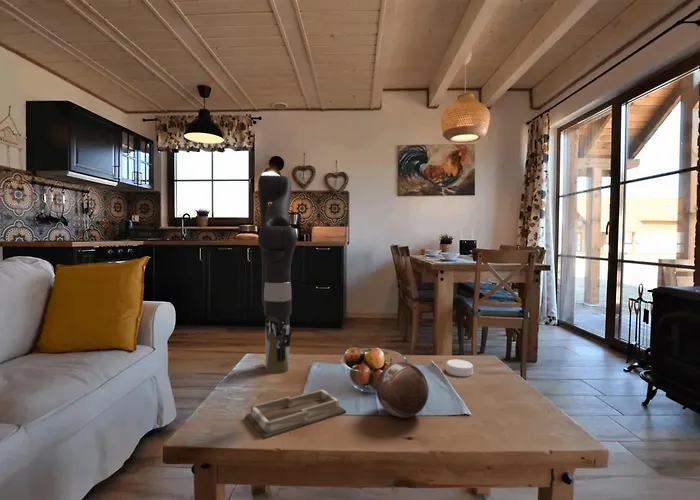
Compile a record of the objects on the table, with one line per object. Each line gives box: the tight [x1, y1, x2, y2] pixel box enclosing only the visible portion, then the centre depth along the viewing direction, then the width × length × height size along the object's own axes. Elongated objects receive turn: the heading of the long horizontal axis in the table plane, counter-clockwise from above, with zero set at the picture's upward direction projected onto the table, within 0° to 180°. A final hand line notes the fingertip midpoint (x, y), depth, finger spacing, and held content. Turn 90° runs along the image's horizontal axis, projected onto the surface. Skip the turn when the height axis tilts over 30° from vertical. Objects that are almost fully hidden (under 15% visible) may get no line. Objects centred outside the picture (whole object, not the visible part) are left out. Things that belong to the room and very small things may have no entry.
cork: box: [266, 331, 289, 375], centre depth 102 cm, size 6×6×11 cm
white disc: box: [445, 358, 474, 377], centre depth 140 cm, size 10×10×4 cm
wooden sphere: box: [376, 361, 430, 418], centre depth 106 cm, size 15×15×15 cm
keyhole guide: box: [246, 388, 347, 440], centre depth 105 cm, size 14×25×3 cm, turn 125°
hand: (277, 358), depth 102 cm, fingers closed on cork, 4 cm apart
